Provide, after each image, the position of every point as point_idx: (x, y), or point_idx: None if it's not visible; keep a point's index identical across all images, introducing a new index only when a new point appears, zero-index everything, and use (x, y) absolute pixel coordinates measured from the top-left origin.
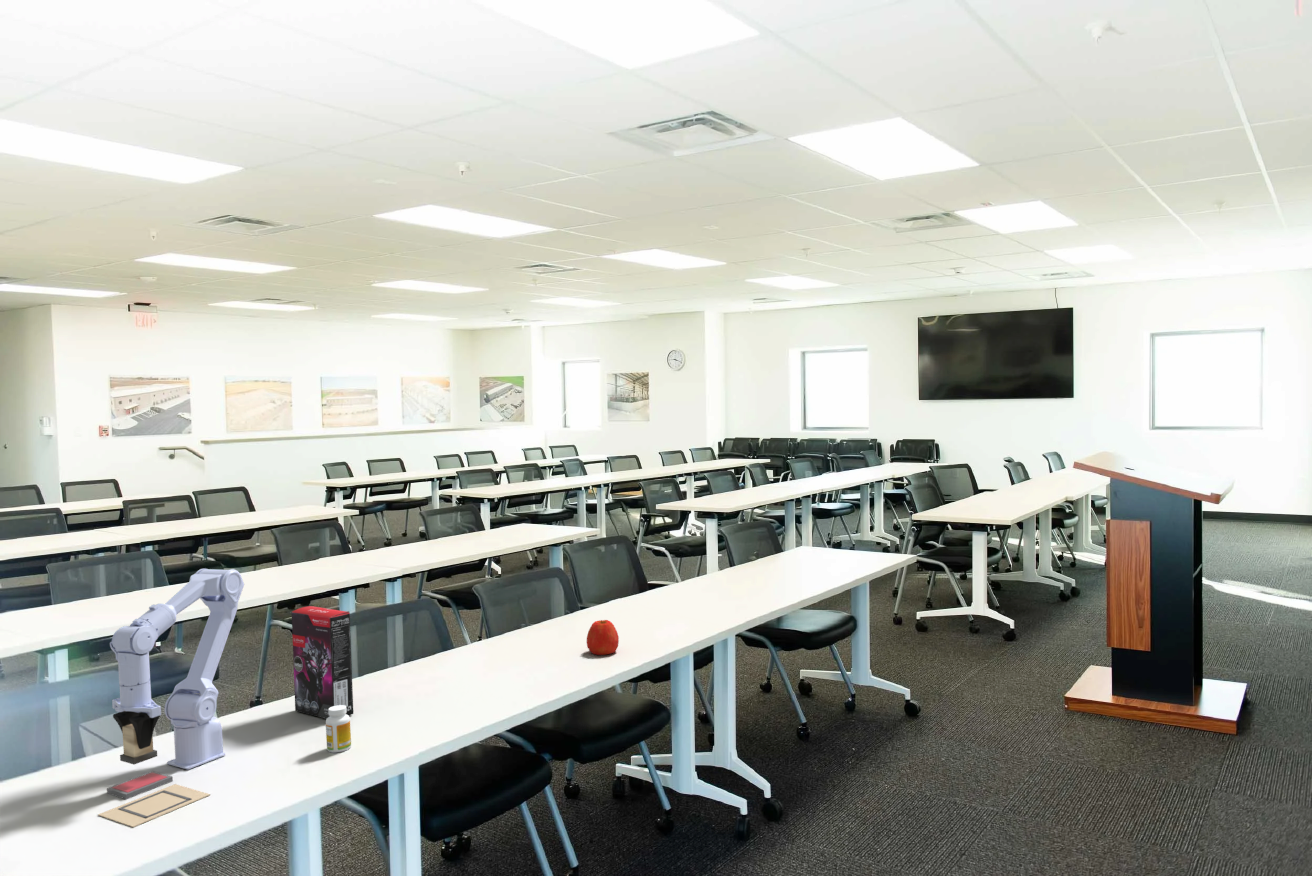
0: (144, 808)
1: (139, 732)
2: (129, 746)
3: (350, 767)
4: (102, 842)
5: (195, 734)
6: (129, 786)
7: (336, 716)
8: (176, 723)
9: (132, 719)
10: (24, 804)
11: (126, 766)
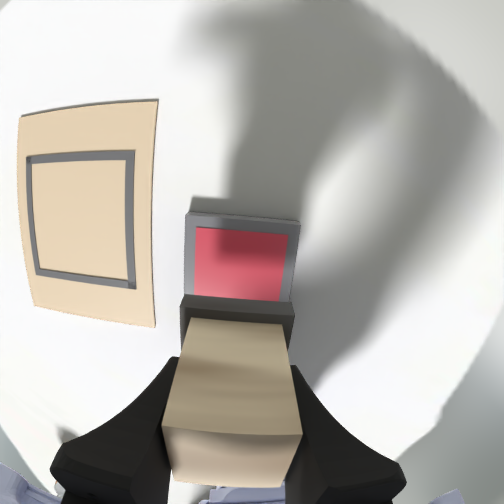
0: (73, 189)
1: (123, 411)
2: (228, 350)
3: (11, 416)
4: (26, 48)
5: None
6: (235, 260)
7: (58, 495)
8: (279, 490)
9: (84, 473)
10: (446, 97)
11: (398, 350)
